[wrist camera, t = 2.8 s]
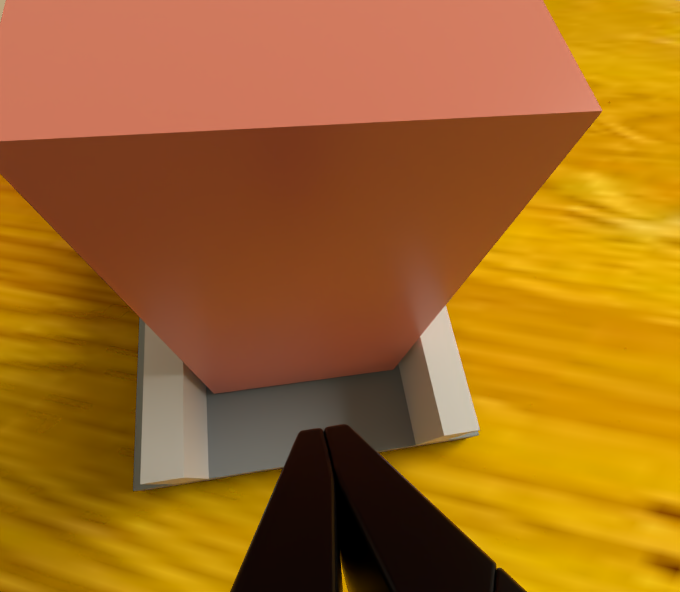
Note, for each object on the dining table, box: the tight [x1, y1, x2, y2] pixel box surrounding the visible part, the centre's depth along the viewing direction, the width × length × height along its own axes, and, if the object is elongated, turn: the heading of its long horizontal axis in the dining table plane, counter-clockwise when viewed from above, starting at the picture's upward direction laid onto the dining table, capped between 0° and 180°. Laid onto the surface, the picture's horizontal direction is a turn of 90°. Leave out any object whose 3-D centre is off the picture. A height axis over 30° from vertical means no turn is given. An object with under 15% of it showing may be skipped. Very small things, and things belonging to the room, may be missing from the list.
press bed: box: [133, 305, 480, 491], centre depth 15 cm, size 16×11×4 cm
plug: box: [0, 0, 602, 394], centre depth 10 cm, size 3×6×11 cm, turn 99°
